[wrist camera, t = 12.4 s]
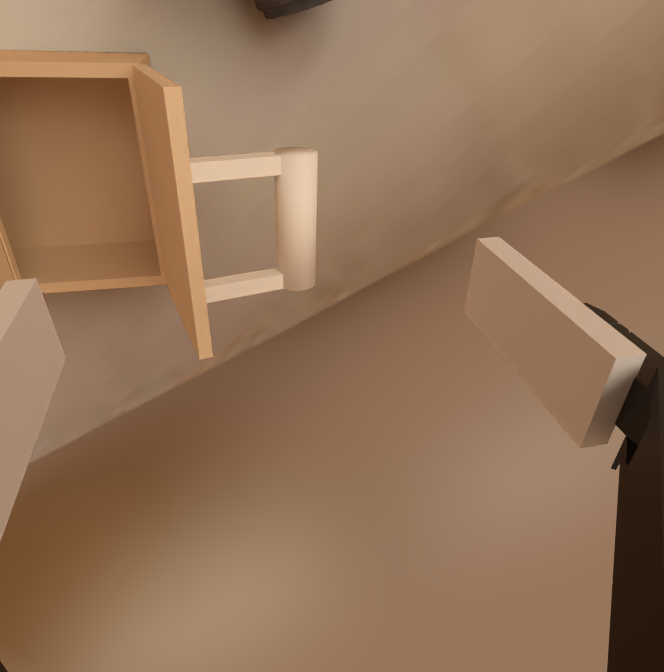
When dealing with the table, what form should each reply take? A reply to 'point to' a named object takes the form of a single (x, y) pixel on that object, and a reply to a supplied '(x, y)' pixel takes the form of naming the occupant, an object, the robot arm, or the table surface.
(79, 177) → the carton
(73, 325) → the table surface
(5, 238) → the panel
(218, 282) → the flap
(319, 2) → the camera
